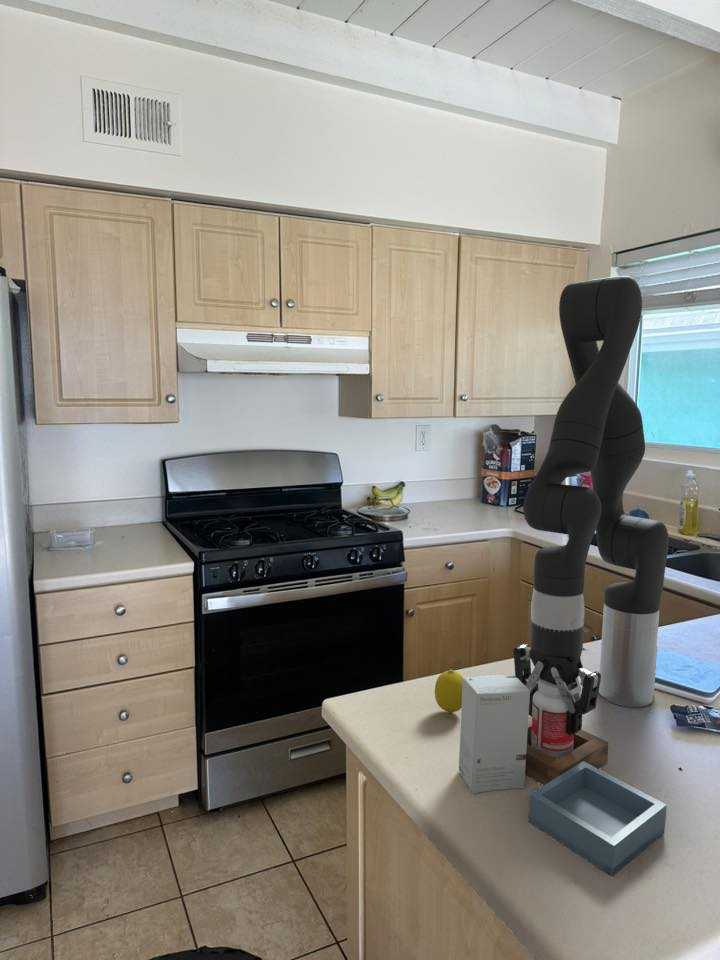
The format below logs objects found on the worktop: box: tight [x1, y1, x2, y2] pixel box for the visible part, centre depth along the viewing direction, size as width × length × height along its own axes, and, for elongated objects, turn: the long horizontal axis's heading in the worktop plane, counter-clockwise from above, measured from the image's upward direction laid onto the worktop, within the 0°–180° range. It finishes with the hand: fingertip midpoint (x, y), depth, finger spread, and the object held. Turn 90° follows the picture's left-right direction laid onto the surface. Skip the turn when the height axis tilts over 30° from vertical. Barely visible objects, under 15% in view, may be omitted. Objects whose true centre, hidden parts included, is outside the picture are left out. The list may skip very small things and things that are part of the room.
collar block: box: [525, 715, 610, 786], centre depth 99 cm, size 12×12×4 cm
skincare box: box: [458, 674, 530, 794], centre depth 93 cm, size 8×6×15 cm
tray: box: [528, 761, 668, 877], centre depth 84 cm, size 12×12×4 cm
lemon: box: [434, 669, 463, 715], centre depth 112 cm, size 6×6×8 cm
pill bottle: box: [531, 678, 575, 760], centre depth 98 cm, size 6×6×11 cm
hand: (552, 723), depth 98 cm, fingers closed on pill bottle, 6 cm apart
